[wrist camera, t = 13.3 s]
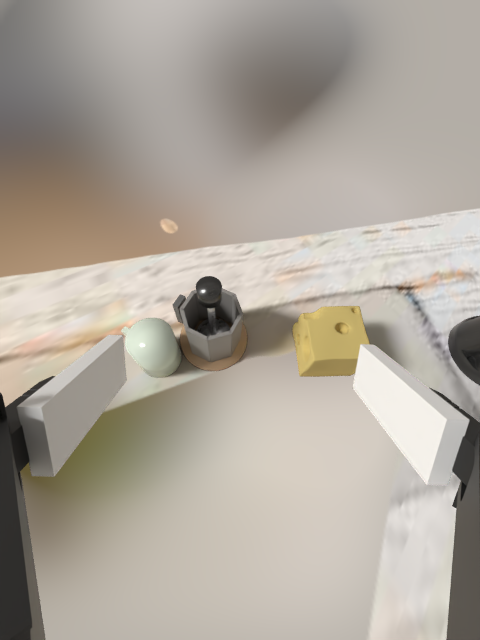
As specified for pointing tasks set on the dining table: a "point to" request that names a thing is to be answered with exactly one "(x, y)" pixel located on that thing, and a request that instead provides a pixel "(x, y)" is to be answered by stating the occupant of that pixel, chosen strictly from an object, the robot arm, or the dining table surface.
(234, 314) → the grey octagonal cup
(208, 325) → the plunger
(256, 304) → the dining table surface
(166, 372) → the pale green dome knob
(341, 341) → the cheese
